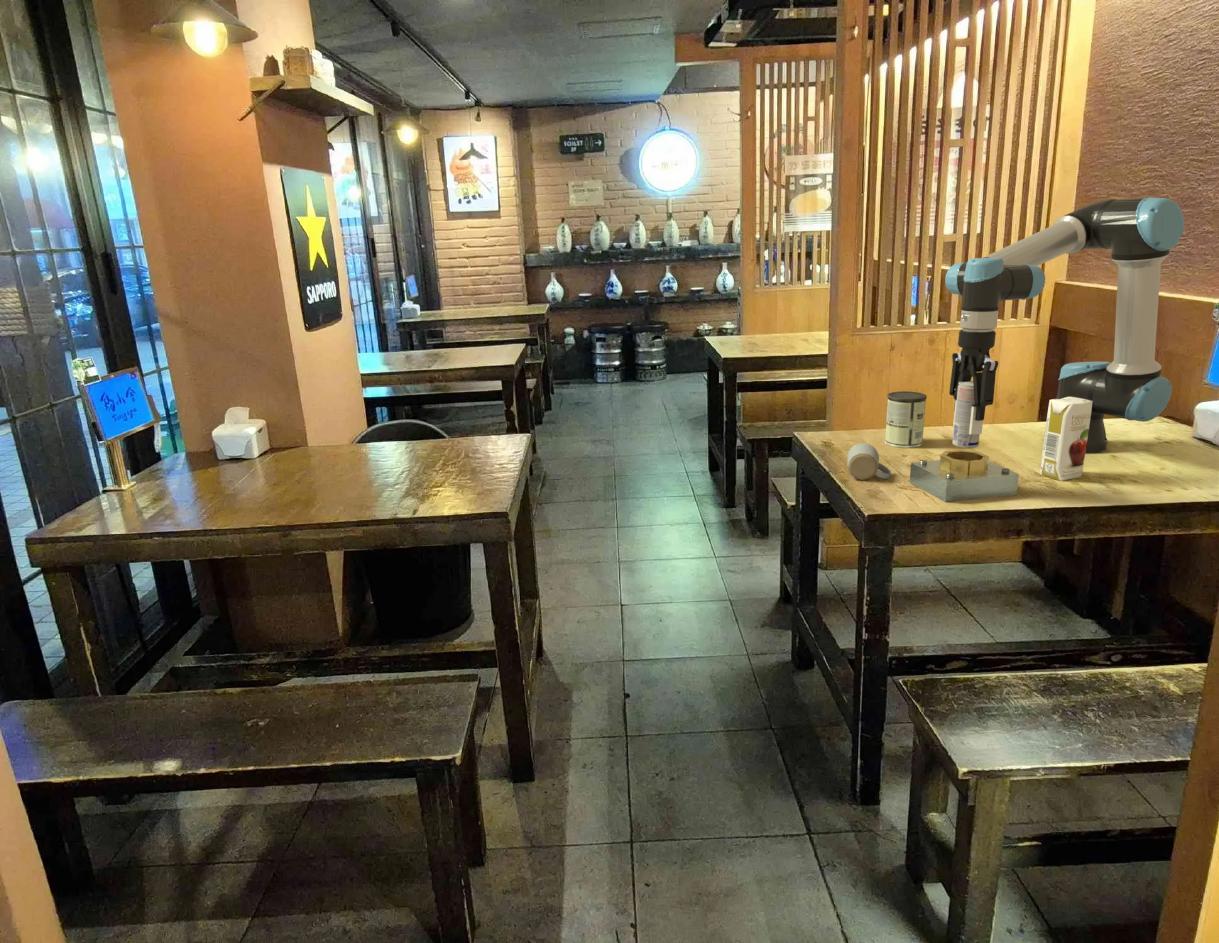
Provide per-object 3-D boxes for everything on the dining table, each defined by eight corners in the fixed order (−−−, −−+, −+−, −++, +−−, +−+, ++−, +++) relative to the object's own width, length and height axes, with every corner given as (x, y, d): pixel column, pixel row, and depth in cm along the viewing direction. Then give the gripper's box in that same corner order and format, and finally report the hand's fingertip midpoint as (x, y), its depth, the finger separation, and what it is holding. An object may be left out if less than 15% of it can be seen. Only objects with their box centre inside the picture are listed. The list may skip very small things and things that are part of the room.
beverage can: (980, 449, 185) (988, 385, 180) (954, 449, 186) (961, 384, 181) (975, 443, 190) (982, 380, 186) (950, 442, 191) (956, 380, 187)
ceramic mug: (846, 480, 200) (848, 450, 197) (846, 470, 207) (848, 441, 205) (891, 483, 197) (894, 453, 195) (889, 473, 204) (892, 444, 202)
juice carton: (1034, 474, 199) (1044, 399, 194) (1059, 469, 203) (1069, 395, 197) (1061, 482, 193) (1072, 404, 187) (1086, 477, 196) (1098, 400, 190)
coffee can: (889, 437, 237) (892, 389, 233) (926, 441, 231) (930, 392, 227) (879, 445, 229) (883, 396, 224) (917, 450, 223) (922, 399, 219)
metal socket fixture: (976, 476, 200) (979, 444, 197) (1016, 494, 186) (1020, 461, 183) (909, 482, 197) (912, 450, 194) (945, 502, 182) (948, 468, 180)
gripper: (938, 325, 188) (929, 422, 195) (988, 335, 171) (977, 441, 177) (967, 324, 189) (958, 420, 196) (1020, 333, 172) (1007, 439, 179)
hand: (967, 430), depth 187 cm, fingers closed on beverage can, 5 cm apart
